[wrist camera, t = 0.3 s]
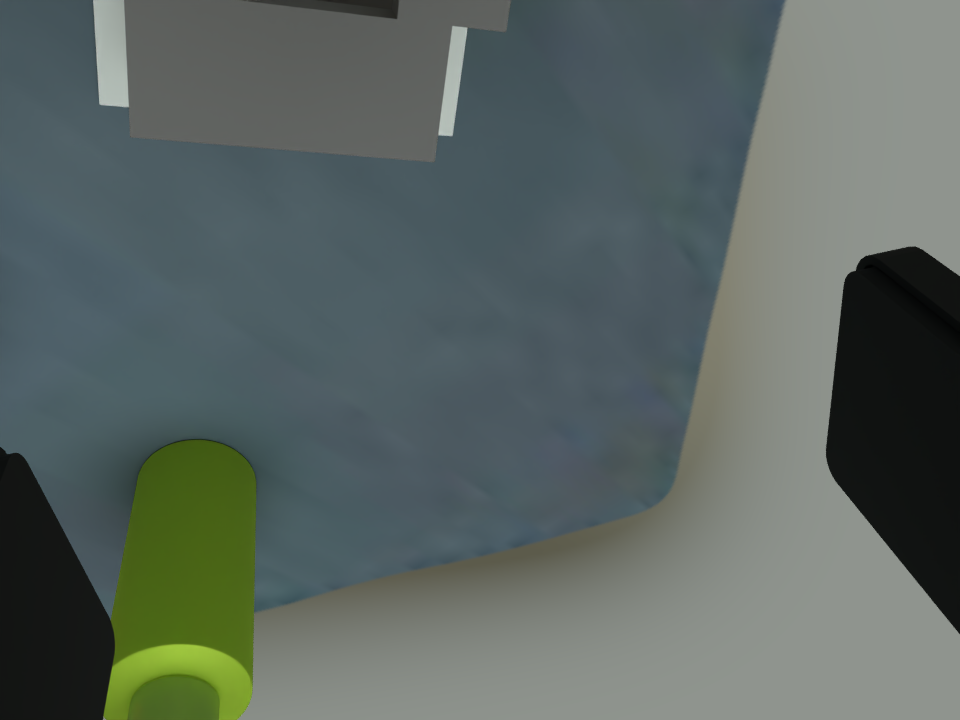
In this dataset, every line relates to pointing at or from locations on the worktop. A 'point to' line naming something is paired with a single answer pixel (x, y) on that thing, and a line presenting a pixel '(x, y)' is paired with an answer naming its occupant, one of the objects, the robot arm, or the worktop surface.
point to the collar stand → (290, 71)
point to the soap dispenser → (186, 589)
